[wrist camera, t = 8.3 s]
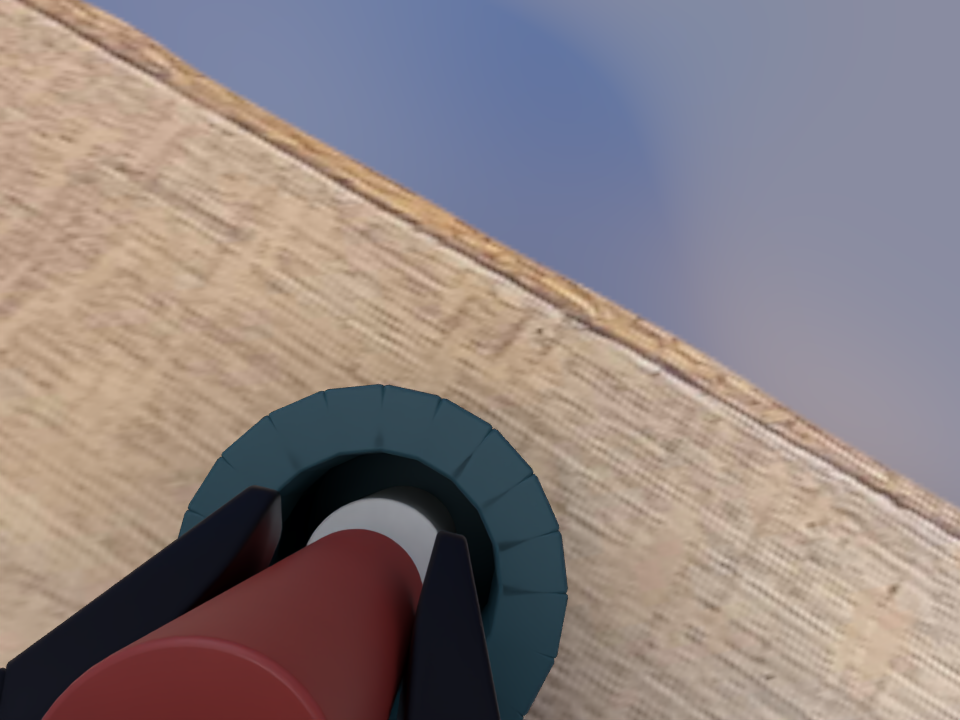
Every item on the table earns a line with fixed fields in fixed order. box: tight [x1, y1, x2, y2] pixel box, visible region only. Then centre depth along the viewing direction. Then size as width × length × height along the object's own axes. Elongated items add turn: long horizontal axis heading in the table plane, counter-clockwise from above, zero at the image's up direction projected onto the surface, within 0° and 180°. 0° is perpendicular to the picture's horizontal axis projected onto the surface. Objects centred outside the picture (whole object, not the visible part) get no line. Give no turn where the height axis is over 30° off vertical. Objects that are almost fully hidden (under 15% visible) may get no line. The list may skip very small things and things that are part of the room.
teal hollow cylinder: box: [178, 384, 568, 720], centre depth 16 cm, size 7×7×9 cm
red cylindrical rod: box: [41, 486, 456, 720], centre depth 11 cm, size 3×3×13 cm
